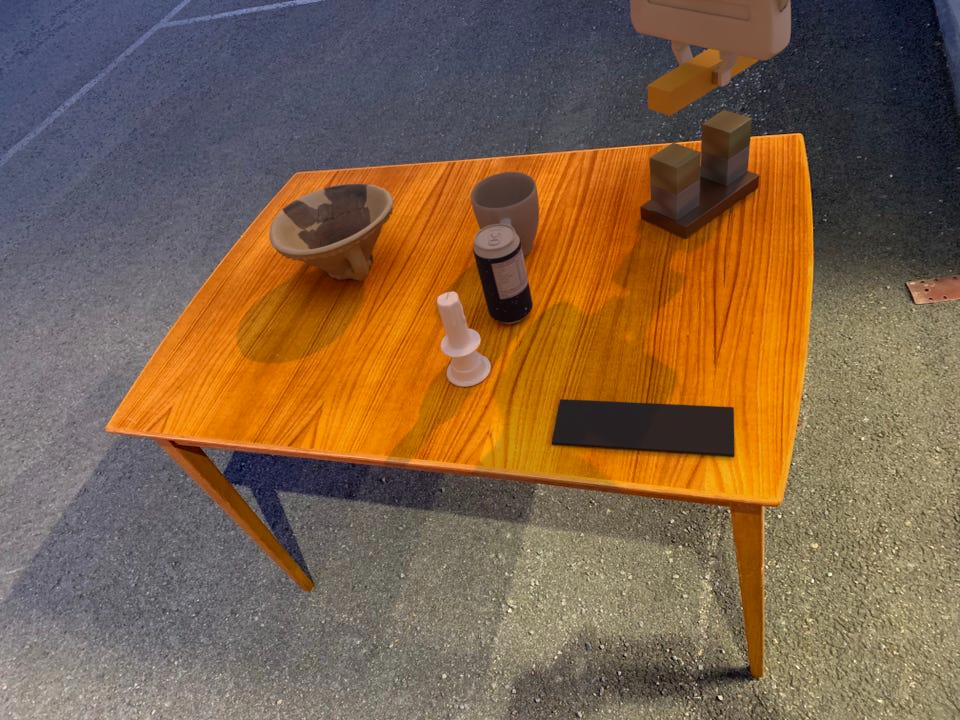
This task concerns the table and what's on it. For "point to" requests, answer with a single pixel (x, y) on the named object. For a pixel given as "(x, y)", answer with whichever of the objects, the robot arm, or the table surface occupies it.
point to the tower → (701, 176)
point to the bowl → (333, 228)
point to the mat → (645, 427)
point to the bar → (689, 82)
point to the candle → (461, 344)
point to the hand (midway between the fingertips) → (704, 79)
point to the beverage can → (503, 273)
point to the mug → (508, 205)
